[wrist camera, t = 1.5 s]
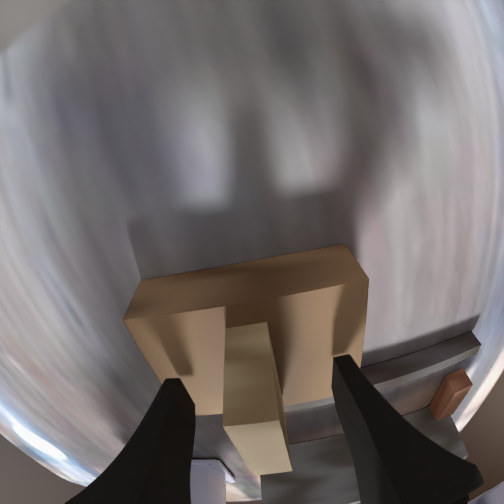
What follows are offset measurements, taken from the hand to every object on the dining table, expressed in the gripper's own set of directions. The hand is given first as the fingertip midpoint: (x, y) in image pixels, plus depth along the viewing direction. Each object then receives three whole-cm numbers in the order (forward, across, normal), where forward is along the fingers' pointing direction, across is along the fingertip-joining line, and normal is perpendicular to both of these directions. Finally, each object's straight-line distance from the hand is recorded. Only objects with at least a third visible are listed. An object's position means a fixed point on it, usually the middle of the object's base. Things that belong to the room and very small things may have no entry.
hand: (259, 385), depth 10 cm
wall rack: (+4, -7, +11) cm, 14 cm away
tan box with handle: (+4, 0, 0) cm, 4 cm away
